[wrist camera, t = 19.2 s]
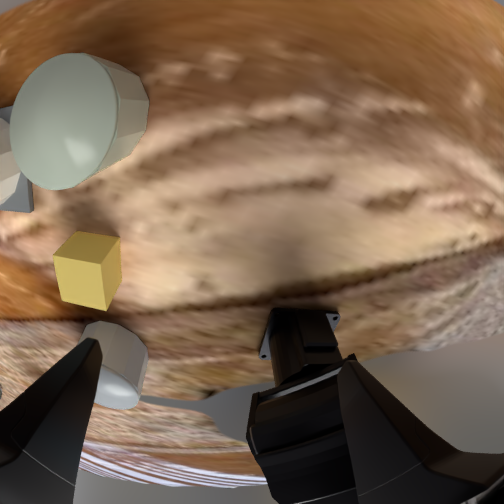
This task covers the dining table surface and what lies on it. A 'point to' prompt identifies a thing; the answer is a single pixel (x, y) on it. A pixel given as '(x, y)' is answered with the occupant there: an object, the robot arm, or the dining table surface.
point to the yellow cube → (89, 269)
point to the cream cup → (7, 164)
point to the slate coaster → (23, 192)
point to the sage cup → (76, 119)
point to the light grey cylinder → (118, 365)
